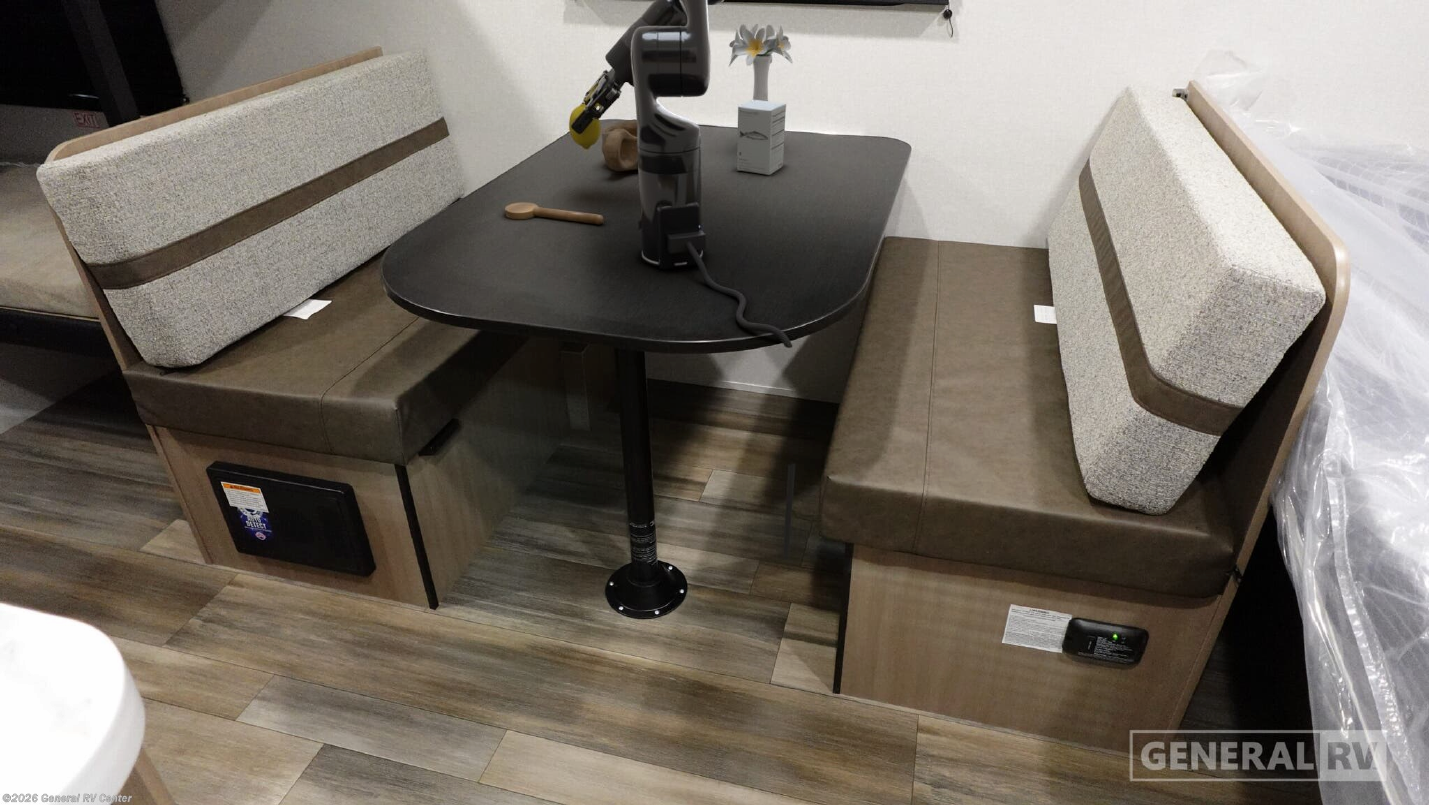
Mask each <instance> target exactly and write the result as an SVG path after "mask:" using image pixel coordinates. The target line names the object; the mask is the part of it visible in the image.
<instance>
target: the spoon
mask: <svg viewBox="0 0 1429 805" xmlns="http://www.w3.org/2000/svg"><path fill="white" fill-rule="evenodd" d="M504 212H505V216H506V217H507V218H509V219H512V220H527V219H531V218H532V219H533V218H535V217H538V218H546V219H554V220H562V221H570V222H577V223H584V224H593V225H601V224H603V223H604V217H603V215H602V214H595V213H588V212H582V211H581V212H580V211H573V210H564V209H556V208H548V207H541V206H538V205H537V204H536V203H533V202H515V203H511V204H508V205H506V207H504Z"/></svg>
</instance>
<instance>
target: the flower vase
mask: <svg viewBox="0 0 1429 805" xmlns="http://www.w3.org/2000/svg"><path fill="white" fill-rule="evenodd" d="M789 39H790V38H789V37H788V36H787V35H784V29H783V26H782V25H781V24H780V25H779V28H778V31H776V33H775V29H774V27H773V26H772V24H767V25H766V26H761V27H760V28H759V24H758V23H755V24H754V25H753V26H752V27H751V28H750V30H749V29H748V27H747V25H746V24H744V23H742V24H741V25H740V26H739V30H738V27H736V28H735V35H734V39H733V40H731V41H730V42H729V45H728V46H729V48H732V49H731V56H730V62H729V65H728V67H731V65H732V64H733V63H734V62H735V60H736V59H737V58H738V57H741V56H746V57H745V64H746V66H747V67H749V66H751V65H752V71H753V85H752V86H753V88H752V100H761V101H769V71H770V66H771V64H772V63H773V55H772V54H773V53H775V54H778V55H780V56H782V57H783V58H784V59H786V60H788V62H789V63H791V64H793V59H792V56H791V55H790V54H789V52H787V51H789V50H791V48H792V44H791V42H790V41H789Z"/></svg>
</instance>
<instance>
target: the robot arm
mask: <svg viewBox="0 0 1429 805" xmlns="http://www.w3.org/2000/svg"><path fill="white" fill-rule="evenodd" d="M724 1H725V0H653V1H652V3H651V4H649V6H648V7H647V8H646V10H645V11H643V14H641V16H639V17H638V19H637V20H635V21H634V22H633V23H632V24H631V25H630V26H629V27H628V28H627V30H626V31H625V32H624V33H623V35H621V37H620V38H618V40H617V41H616V42H615V44H614V45H613V46H611V48H610V49H609V51H608V52H607V53H606V54H605V55H604V57H605V61H606V62H607V64H608V65H609V66H610V67H611V69H610V70H607V69H605V70H603V71H602V73H601V74H600V75H599V77H598V78H597V79H596V81H595V82H594V83H593V85H591V87H590V88H589V90H588V91H586V92H585V96H584V97H583V99H582V102H581V103H580V105H581V104H585V105H586V106H585V109H584V110H583V111H582V112H581V114H580V115H579V116H578V117H577V118H576V119H575V121H574V122H573V123H572V124H571V128H572V129H573V130H574V131H575V132H576V133H578V134H582V132H583V131H584V130H585V129H586V128H587V127H588V126H589V124H590V123H591V122H592V121H593V120H594V119H597V120H598V119H599V120H600V119H601V118H602V116H603V115H604V114H605V113H606V112H607V111H608V110H609V109H610V108H611V106H612V105H614V104H615V102H616V101H617V100H619V98H620V97H621V94H622V90H621V89H622V88H623V86H624V85H625V84H626V83H628V84H629V85H630V86H631V87H633V90H634V103H635V118H636V120H637V149H638V169H637V170H638V171H637V172H638V191H639V208H640V209H639V211H640V220H638V221H637V230H638V231H640V233H641V259H642V260H643V261H644V263H646V264H648V265H651V266H655V267H658V268H659V269H661V270H668V269H676V268H677V269H678V268H685V267H692V266H697V267H698V270H699V273H700V275H701V278H702V280H703V281H704V283H706V285H707V286H708V287H709V288H711V289H712V290H714V291H716V292H719V293H721V294H724V295H727V296H730V297H734V298H735V299H736V300H738V302H739V303H738V307H737V309H736V312H735V319H736V322H737V323H738V324H739V326H741V327H742V328H744V329H746V330H749V331H757V332H765V333H770V334H772V335H774V336H776V337H777V338H778V339H779V340H780V341H781V342H782V344H783V346H784V347H785V348H787V349H791V348H793V343H792V342H791V340H790V338H789V337H788V336H787V334H786V333H785V332H784V331H783V330H781V329H780V328H779V327H776V326H774V325H771V324H767V323H758V322H751V321H748V320H746V319H745V318H744V312H745V310H746V307H747V300H746V297H745V295H744V294H743V293H741V292H740V291H738V290H736V289H734V288H730V287H726V286H722V285H720V284H718V283H716V282H715V281H714V280H713V279H712V278H711V277H710V275H709V273H708V270H707V268H706V266H705V263H704V261H703V260H702V259H703V256H704V252H703V250H706V249H707V247H706V246H707V240H706V238H707V237H706V233H704V231H703V229H702V228H703V227H702V226H703V225H702V224H703V222H702V221H703V220H702V218H703V217H702V215H703V214H702V133H701V132H702V131H701V129H700V126H699V125H698V123H697V122H695V121H693V120H691V119H688V118H686V117H683V116H680V115H678V114H676V113H673V112H672V111H670V110H668V109H667V108H665V107H664V106H663V105H662V104H661V103H660V102H659V100H658V98H699V97H702V96H704V95H705V94H706V93H707V91H708V89H709V86H710V81H711V74H712V73H711V71H712V68H711V67H712V66H711V65H712V59H711V57H712V55H711V40H710V39H711V38H710V23H709V9H708V6H709V7H710V6H718V5H719V4H721V3H723V2H724ZM598 107H599V108H598ZM795 474H796V463H791V464H788V466H787V483H786V484H787V485H786V498H785V514H784V527H783V528H784V529H783V548H782V549H783V551H782V558H783V559H784V560H788V559H790V556H791V535H792V534H791V533H792V532H791V531H792V519H793V518H792V516H793V505H794V503H793V501H794V488H795V476H796V475H795Z"/></svg>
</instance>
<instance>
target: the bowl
mask: <svg viewBox="0 0 1429 805" xmlns="http://www.w3.org/2000/svg"><path fill="white" fill-rule="evenodd" d="M601 138H602V139H601V152H602V155H603V157H604V161H605V164H606V165H607V167H608V168H609V169H611V170H613V171H616V172H626V171H633V170H638V149H637V119H628V120H623V121H620V122H619V121H618V122H615V123H613V124H610V125H607V126H605V127H604V128H603V129H602V130H601Z"/></svg>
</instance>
